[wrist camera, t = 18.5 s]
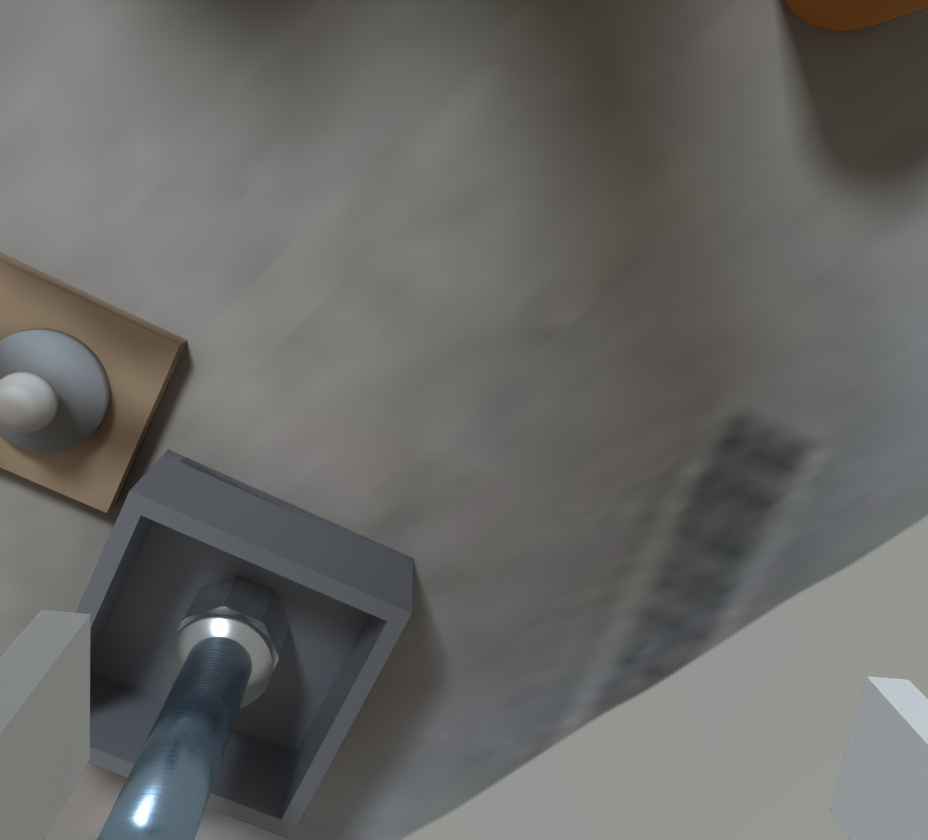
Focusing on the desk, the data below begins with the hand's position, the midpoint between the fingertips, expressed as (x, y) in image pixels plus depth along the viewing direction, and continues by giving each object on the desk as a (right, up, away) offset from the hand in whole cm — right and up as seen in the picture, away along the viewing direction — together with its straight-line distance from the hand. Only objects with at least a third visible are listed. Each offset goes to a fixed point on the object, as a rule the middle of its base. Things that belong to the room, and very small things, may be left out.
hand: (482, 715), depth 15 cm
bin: (-14, -7, +39) cm, 42 cm away
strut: (-14, -7, +38) cm, 41 cm away
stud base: (-23, +7, +35) cm, 42 cm away
